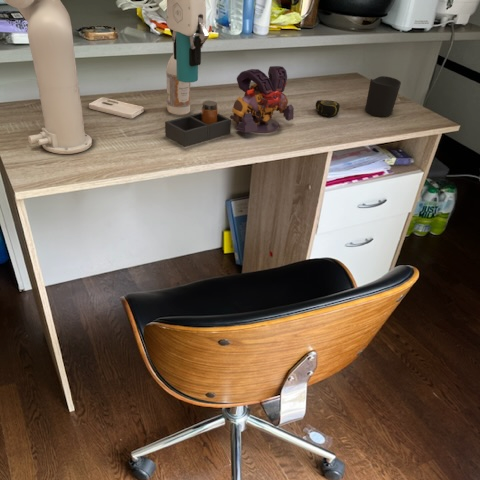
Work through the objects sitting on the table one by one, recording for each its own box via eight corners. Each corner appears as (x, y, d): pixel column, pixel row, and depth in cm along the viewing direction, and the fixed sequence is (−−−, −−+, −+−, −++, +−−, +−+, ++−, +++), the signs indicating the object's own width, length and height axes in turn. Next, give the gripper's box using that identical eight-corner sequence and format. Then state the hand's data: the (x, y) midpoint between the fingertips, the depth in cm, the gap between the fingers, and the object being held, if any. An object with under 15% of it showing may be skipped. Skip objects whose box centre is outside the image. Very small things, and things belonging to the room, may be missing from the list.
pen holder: (395, 119, 169) (404, 86, 162) (366, 117, 168) (374, 84, 162) (389, 108, 176) (397, 77, 169) (361, 106, 176) (368, 75, 169)
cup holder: (184, 149, 141) (184, 132, 138) (165, 138, 145) (165, 121, 142) (230, 135, 150) (231, 119, 147) (210, 125, 154) (211, 109, 151)
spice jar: (208, 136, 147) (208, 107, 142) (198, 130, 149) (198, 102, 144) (219, 132, 149) (221, 104, 144) (209, 127, 152) (210, 99, 146)
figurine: (245, 143, 146) (250, 81, 135) (217, 125, 154) (220, 65, 143) (299, 130, 156) (308, 71, 145) (271, 115, 164) (277, 57, 153)
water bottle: (185, 83, 132) (185, 15, 122) (172, 77, 135) (171, 10, 125) (202, 80, 135) (203, 13, 125) (189, 74, 138) (188, 8, 128)
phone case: (88, 108, 158) (131, 119, 154) (87, 103, 157) (131, 114, 153) (102, 101, 163) (144, 111, 159) (102, 96, 162) (144, 106, 158)
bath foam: (174, 117, 157) (173, 44, 144) (163, 109, 161) (161, 37, 148) (194, 114, 160) (195, 42, 147) (183, 106, 164) (183, 35, 151)
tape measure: (335, 111, 171) (337, 99, 168) (339, 118, 166) (342, 106, 163) (314, 110, 170) (316, 98, 168) (318, 118, 165) (320, 105, 162)
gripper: (151, -29, 123) (154, 55, 135) (197, -15, 114) (197, 73, 126) (177, -31, 127) (178, 51, 139) (224, -18, 118) (220, 68, 130)
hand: (187, 61), depth 132 cm, fingers closed on water bottle, 5 cm apart
